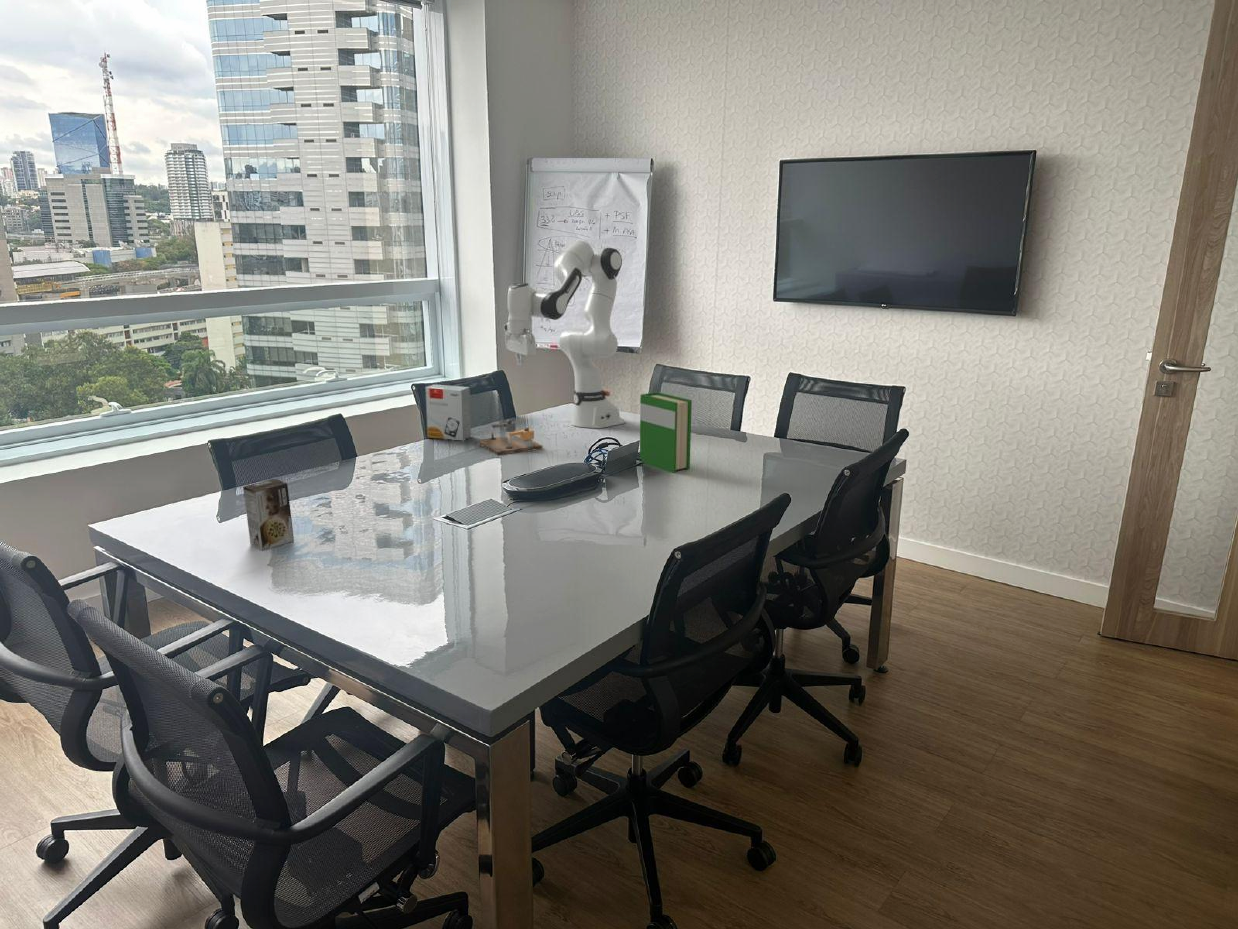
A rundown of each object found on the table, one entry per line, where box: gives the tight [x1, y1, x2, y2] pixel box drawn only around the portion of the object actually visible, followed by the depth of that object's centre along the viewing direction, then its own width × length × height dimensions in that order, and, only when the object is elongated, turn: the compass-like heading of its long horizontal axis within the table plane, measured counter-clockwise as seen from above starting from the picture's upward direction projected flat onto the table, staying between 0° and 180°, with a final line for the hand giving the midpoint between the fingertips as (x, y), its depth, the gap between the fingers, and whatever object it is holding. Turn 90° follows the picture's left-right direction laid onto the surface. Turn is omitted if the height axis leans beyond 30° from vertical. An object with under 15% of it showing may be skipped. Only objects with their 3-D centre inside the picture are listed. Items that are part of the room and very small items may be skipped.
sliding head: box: [508, 427, 535, 447], centre depth 317 cm, size 9×4×6 cm, turn 120°
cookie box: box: [243, 478, 295, 552], centre depth 223 cm, size 9×6×16 cm
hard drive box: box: [424, 383, 472, 442], centre depth 333 cm, size 16×8×20 cm, turn 73°
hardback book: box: [639, 391, 693, 474], centre depth 295 cm, size 18×7×24 cm, turn 39°
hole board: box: [475, 435, 543, 456], centre depth 323 cm, size 18×20×1 cm
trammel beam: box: [490, 419, 533, 447], centre depth 323 cm, size 9×19×6 cm, turn 30°
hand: (521, 364), depth 324 cm, fingers closed
